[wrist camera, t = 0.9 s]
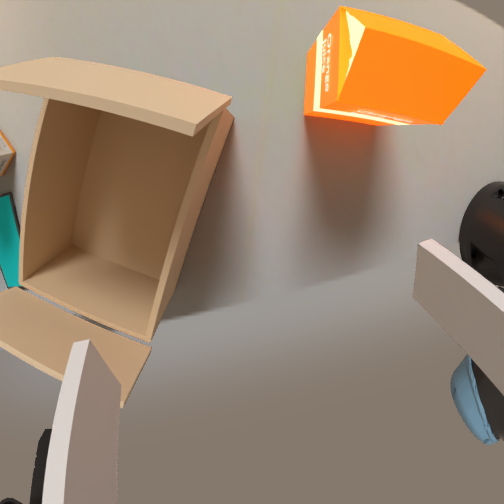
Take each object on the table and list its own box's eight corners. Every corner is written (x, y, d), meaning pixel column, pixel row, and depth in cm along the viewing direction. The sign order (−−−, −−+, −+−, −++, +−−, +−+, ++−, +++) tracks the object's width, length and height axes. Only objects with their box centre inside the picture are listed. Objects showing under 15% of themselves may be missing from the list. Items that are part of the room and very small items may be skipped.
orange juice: (376, 126, 33) (488, 128, 14) (302, 116, 33) (361, 92, 14) (379, 64, 30) (484, 18, 11) (306, 51, 30) (361, -29, 11)
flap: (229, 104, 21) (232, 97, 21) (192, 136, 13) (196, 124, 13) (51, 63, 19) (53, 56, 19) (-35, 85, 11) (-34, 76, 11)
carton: (234, 117, 33) (224, 107, 21) (175, 287, 40) (150, 343, 29) (109, 82, 31) (54, 66, 20) (69, 246, 38) (18, 284, 27)
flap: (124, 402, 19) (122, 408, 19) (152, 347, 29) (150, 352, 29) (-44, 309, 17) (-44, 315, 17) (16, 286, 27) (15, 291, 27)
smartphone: (8, 289, 40) (-18, 202, 35) (10, 287, 41) (-14, 200, 36) (36, 287, 40) (10, 192, 35) (39, 285, 41) (13, 191, 36)
